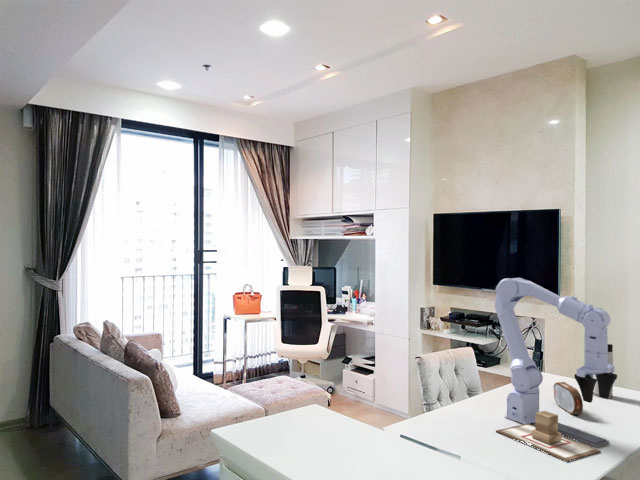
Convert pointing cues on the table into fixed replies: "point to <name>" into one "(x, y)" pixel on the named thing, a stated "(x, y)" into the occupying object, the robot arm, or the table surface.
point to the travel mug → (610, 362)
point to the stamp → (546, 428)
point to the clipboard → (560, 450)
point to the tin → (568, 398)
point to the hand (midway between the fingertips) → (595, 399)
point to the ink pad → (581, 436)
